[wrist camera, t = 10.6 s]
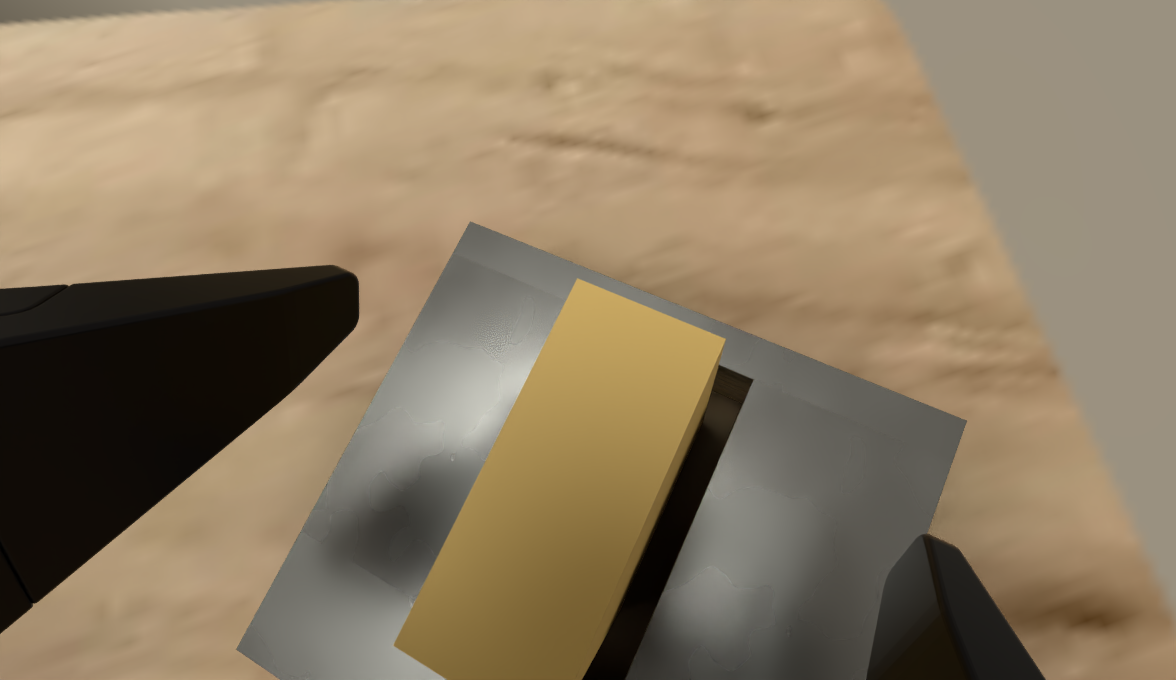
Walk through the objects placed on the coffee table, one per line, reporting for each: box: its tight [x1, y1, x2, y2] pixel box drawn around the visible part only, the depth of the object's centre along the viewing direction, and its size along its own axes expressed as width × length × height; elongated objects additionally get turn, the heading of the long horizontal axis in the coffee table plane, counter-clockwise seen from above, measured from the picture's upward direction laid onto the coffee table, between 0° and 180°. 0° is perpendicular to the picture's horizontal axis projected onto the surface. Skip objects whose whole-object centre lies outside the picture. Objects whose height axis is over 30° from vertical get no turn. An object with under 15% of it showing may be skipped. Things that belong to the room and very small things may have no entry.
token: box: [393, 278, 726, 680], centre depth 13 cm, size 6×2×10 cm, turn 154°
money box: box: [236, 222, 967, 680], centre depth 16 cm, size 12×13×4 cm
